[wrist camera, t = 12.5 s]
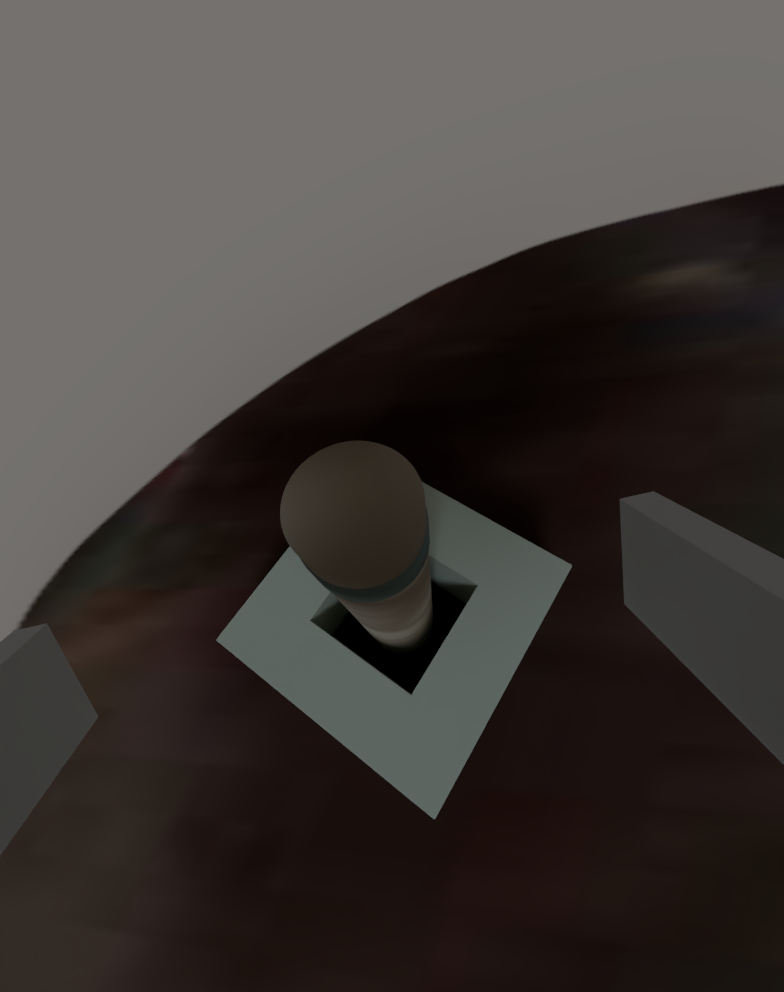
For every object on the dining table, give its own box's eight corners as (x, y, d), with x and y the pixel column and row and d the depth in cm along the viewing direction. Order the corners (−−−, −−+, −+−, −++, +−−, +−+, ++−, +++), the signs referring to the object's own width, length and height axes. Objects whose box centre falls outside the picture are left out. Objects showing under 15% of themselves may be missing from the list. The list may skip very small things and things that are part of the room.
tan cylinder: (405, 577, 24) (362, 414, 11) (447, 624, 23) (459, 506, 10) (357, 619, 24) (249, 500, 10) (399, 669, 22) (338, 611, 9)
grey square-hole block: (376, 489, 27) (365, 450, 23) (549, 590, 23) (572, 565, 19) (254, 652, 23) (216, 640, 19) (435, 797, 20) (434, 819, 16)
